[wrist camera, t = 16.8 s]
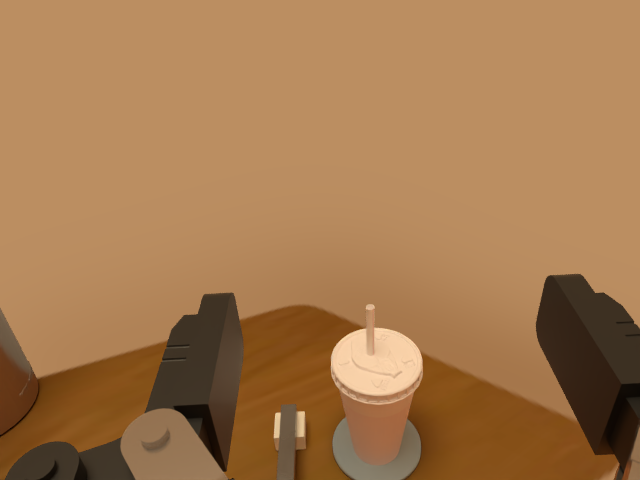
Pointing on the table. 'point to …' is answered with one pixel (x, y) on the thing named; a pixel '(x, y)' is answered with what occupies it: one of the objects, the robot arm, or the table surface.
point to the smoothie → (376, 387)
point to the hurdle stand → (300, 430)
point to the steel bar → (287, 443)
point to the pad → (371, 476)
